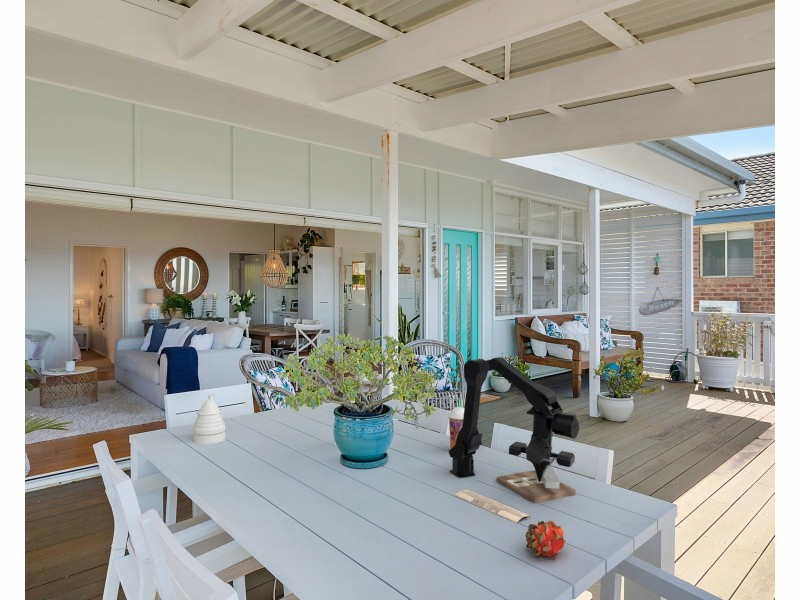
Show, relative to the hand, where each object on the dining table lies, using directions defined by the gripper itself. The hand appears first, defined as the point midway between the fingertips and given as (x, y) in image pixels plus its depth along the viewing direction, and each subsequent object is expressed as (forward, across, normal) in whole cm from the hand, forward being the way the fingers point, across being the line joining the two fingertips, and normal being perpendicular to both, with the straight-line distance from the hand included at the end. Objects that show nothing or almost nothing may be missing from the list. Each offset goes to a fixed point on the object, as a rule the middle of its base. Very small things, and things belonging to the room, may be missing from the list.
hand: (539, 481), depth 158 cm
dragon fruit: (+4, +12, -33) cm, 35 cm away
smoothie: (+6, -40, +27) cm, 48 cm away
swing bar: (+1, +1, +6) cm, 6 cm away
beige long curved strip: (+6, -10, -15) cm, 19 cm away
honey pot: (+10, -133, -16) cm, 135 cm away
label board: (+5, -3, +6) cm, 8 cm away
